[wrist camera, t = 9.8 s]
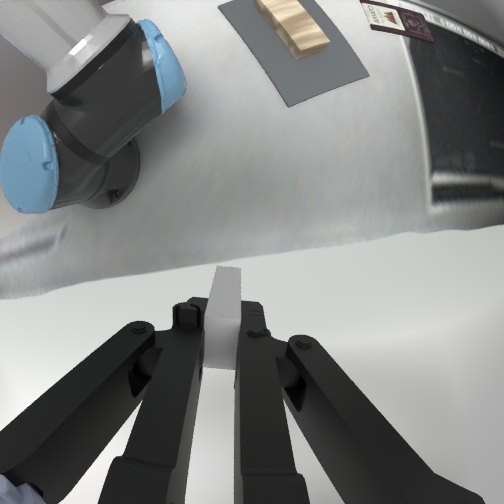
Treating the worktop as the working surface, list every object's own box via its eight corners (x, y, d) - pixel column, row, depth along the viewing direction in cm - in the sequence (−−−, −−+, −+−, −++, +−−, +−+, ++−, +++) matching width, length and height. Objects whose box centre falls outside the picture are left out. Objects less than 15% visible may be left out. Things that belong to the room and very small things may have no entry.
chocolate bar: (435, 42, 35) (372, 28, 35) (432, 44, 36) (370, 30, 36) (422, 14, 33) (360, -2, 33) (420, 15, 34) (358, 0, 34)
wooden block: (330, 41, 33) (284, -14, 30) (300, 50, 34) (255, -6, 30) (323, 50, 37) (281, -3, 34) (296, 59, 38) (254, 5, 34)
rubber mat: (368, 76, 39) (369, 75, 39) (288, 107, 41) (288, 106, 40) (297, -16, 33) (297, -18, 32) (217, 7, 34) (217, 6, 34)
